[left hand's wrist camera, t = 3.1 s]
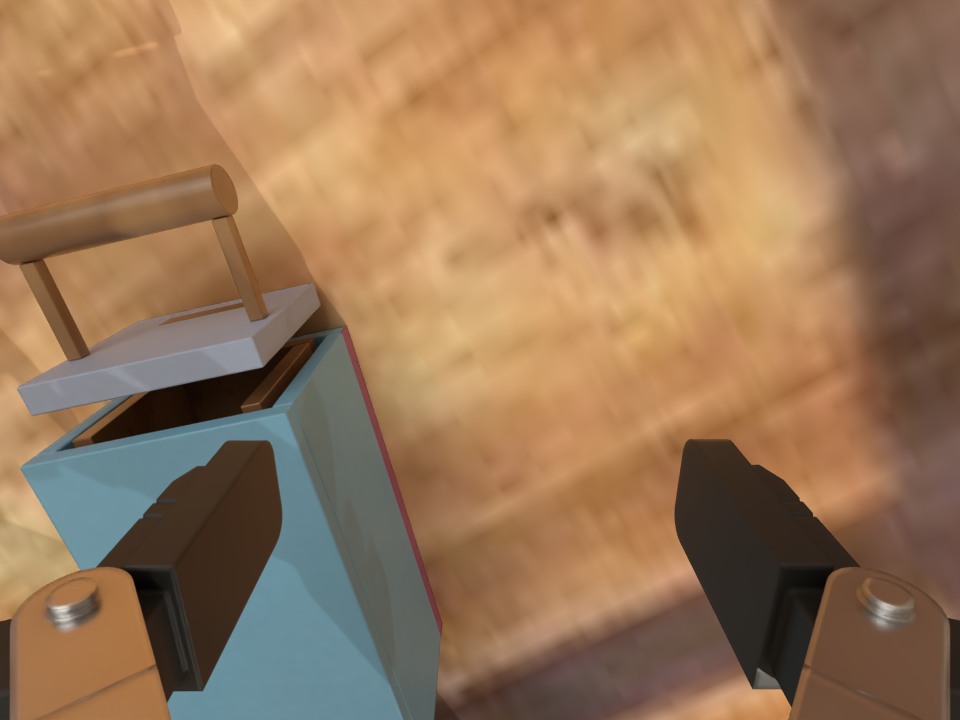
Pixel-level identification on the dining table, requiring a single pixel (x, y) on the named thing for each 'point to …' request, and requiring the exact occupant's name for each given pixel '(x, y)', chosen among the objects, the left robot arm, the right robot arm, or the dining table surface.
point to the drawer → (166, 339)
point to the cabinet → (283, 550)
